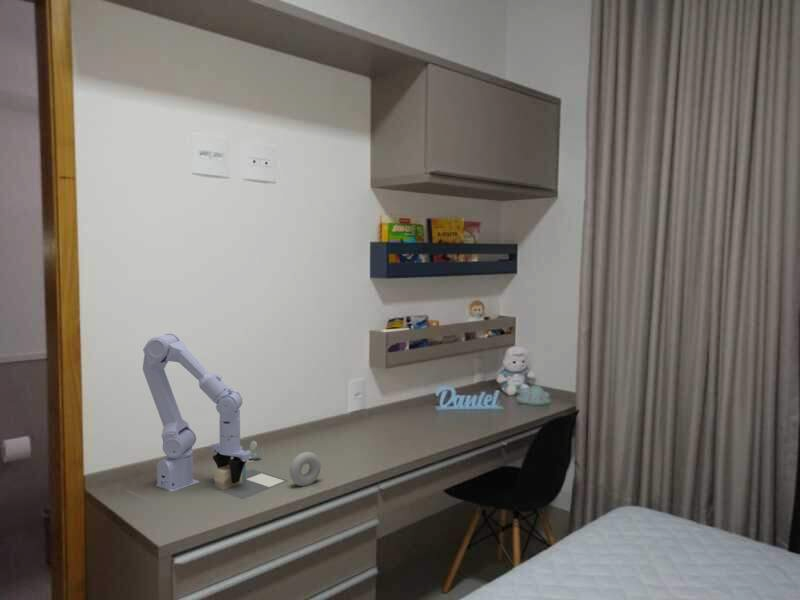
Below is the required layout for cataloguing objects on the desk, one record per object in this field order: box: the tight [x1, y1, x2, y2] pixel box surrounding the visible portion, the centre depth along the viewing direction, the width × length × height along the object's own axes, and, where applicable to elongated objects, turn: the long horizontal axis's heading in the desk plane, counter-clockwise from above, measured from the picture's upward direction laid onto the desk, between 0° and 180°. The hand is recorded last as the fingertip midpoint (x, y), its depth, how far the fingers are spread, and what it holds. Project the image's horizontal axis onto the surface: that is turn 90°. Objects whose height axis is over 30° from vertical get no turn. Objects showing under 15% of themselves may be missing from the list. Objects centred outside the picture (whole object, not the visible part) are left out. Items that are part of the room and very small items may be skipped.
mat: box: [205, 468, 289, 500], centre depth 173 cm, size 17×16×1 cm
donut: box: [289, 451, 322, 487], centre depth 172 cm, size 10×3×10 cm, turn 131°
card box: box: [213, 464, 247, 490], centre depth 172 cm, size 8×4×5 cm, turn 145°
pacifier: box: [244, 440, 263, 463], centre depth 194 cm, size 7×6×6 cm
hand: (230, 480), depth 172 cm, fingers open, 4 cm apart
